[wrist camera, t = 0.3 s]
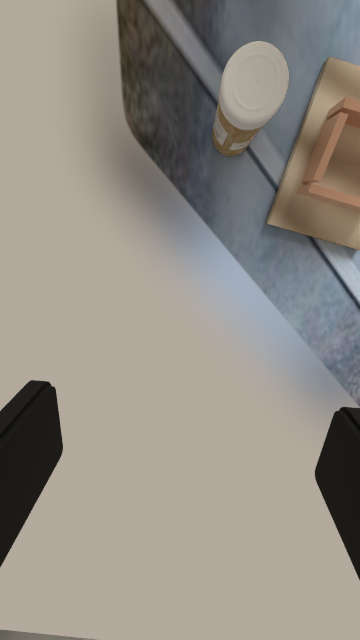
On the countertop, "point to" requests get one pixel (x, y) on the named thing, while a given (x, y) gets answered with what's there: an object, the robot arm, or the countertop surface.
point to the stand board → (341, 172)
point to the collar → (338, 115)
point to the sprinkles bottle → (249, 95)
